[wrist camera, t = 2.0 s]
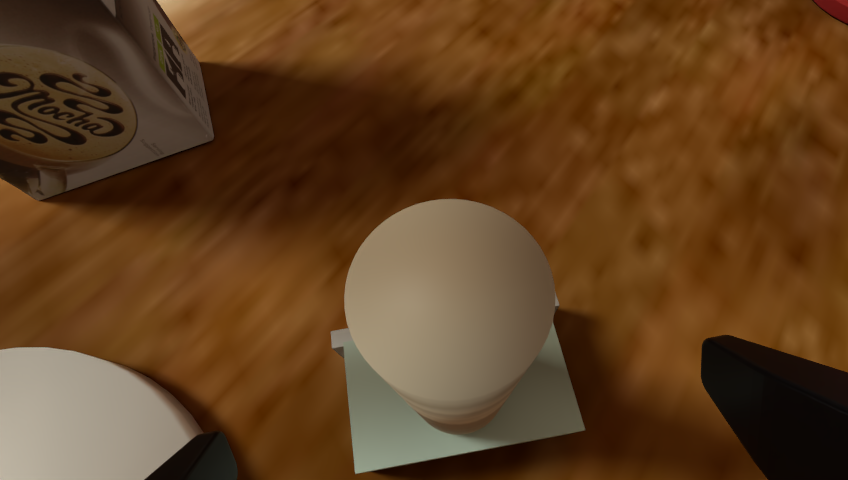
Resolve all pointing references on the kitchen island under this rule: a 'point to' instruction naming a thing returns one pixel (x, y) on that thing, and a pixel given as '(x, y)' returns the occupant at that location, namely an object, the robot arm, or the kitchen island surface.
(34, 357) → the white plate
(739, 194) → the kitchen island surface
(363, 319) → the rubber stamp
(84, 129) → the coffee box
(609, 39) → the kitchen island surface
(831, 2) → the canned food
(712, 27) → the kitchen island surface
